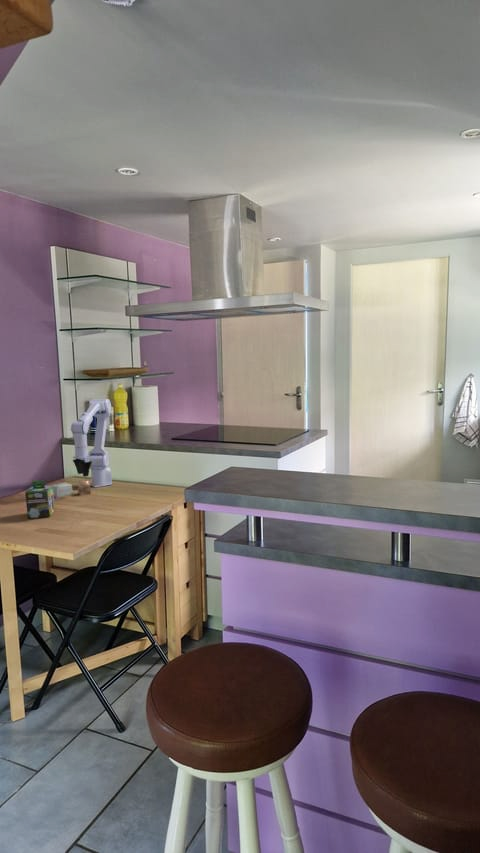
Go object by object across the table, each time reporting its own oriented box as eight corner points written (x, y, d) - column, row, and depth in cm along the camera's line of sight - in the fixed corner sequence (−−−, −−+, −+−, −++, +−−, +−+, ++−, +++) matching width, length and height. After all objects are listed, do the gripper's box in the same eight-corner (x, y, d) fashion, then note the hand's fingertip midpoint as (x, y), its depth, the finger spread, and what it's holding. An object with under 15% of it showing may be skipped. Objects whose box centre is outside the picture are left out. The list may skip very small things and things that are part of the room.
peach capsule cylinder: (87, 486, 272) (87, 478, 271) (91, 488, 268) (90, 480, 267) (78, 488, 269) (77, 480, 269) (81, 490, 265) (80, 482, 265)
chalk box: (55, 511, 230) (52, 477, 228) (50, 517, 221) (47, 482, 219) (33, 512, 229) (30, 478, 227) (26, 518, 220) (23, 483, 218)
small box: (66, 492, 263) (65, 481, 262) (73, 494, 257) (72, 484, 256) (50, 495, 258) (49, 484, 257) (57, 498, 252) (56, 487, 251)
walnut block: (87, 492, 260) (86, 484, 260) (90, 494, 257) (90, 486, 256) (78, 494, 258) (77, 485, 257) (81, 495, 254) (80, 487, 254)
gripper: (67, 445, 258) (69, 473, 260) (77, 449, 246) (79, 478, 248) (82, 444, 262) (84, 471, 264) (92, 447, 250) (94, 476, 252)
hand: (83, 474), depth 256 cm, fingers open, 7 cm apart
